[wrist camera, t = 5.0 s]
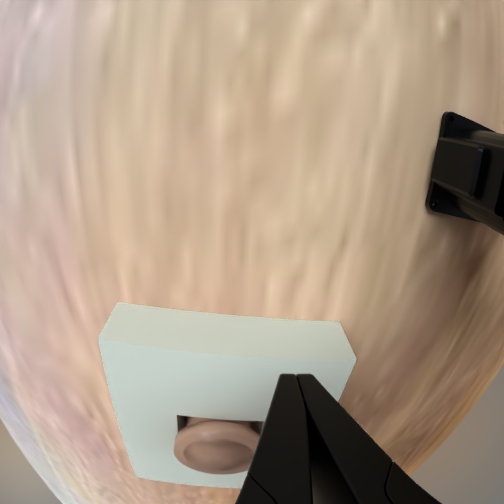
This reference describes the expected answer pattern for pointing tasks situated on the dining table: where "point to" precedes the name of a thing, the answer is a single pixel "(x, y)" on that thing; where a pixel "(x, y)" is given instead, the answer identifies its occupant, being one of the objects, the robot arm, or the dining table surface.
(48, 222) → the dining table surface
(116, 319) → the button box
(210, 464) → the button
